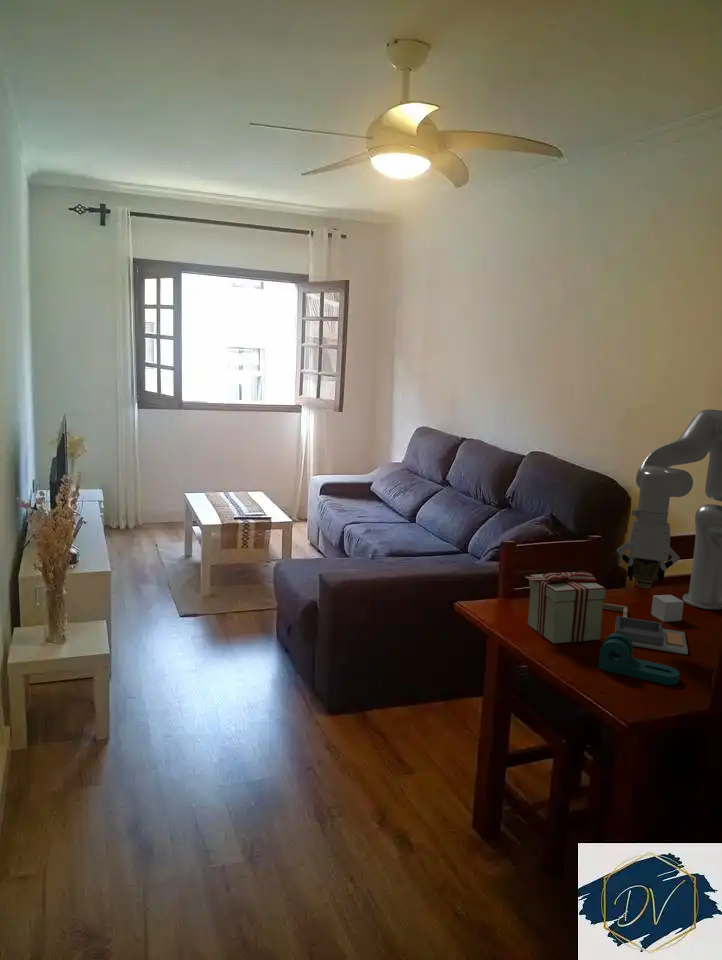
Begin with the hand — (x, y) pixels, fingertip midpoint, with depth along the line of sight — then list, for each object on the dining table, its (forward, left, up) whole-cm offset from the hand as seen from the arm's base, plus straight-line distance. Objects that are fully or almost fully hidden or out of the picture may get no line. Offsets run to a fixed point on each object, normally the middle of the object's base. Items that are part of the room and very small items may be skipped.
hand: (644, 580), depth 194 cm
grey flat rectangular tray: (0, +3, -16) cm, 16 cm away
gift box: (+5, -21, -16) cm, 27 cm away
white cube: (-20, +8, -17) cm, 27 cm away
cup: (0, 0, -2) cm, 2 cm away
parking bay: (-14, -9, -16) cm, 23 cm away
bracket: (+24, 0, -17) cm, 29 cm away
